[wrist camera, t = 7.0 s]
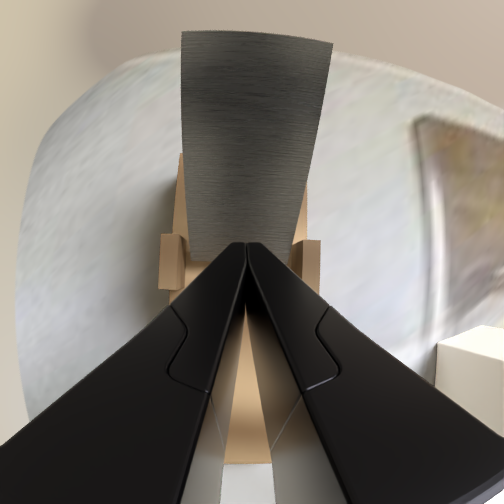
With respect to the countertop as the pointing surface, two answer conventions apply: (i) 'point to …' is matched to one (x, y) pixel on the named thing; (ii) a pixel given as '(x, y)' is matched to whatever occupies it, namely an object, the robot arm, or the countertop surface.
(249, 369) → the body
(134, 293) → the countertop surface
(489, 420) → the milk
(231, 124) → the lever cap
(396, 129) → the countertop surface
